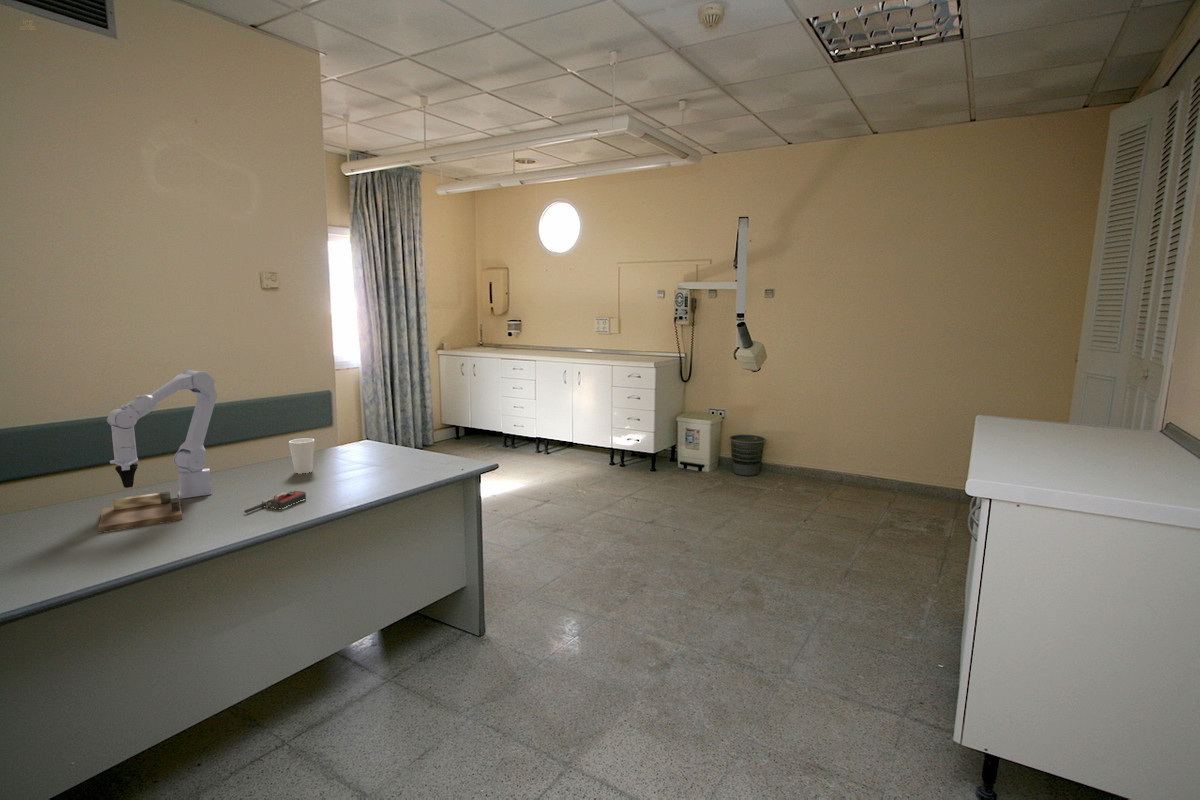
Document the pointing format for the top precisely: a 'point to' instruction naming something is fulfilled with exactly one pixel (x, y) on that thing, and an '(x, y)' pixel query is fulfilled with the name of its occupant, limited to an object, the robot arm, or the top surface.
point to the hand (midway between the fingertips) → (128, 487)
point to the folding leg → (141, 500)
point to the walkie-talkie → (281, 500)
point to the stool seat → (139, 515)
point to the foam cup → (302, 454)
